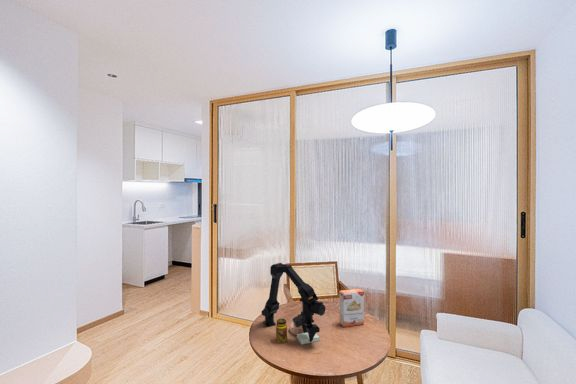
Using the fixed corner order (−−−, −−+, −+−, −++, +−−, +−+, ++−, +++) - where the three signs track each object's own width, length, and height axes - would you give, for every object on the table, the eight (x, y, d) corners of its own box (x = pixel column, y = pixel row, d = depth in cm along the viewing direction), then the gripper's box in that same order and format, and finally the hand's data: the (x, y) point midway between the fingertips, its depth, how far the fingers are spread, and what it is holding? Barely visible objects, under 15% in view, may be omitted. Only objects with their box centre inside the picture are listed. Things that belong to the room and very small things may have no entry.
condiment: (283, 346, 153) (283, 324, 153) (270, 342, 157) (270, 320, 157) (290, 340, 159) (290, 318, 159) (277, 336, 163) (277, 315, 163)
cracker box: (343, 328, 172) (343, 293, 172) (339, 323, 178) (339, 290, 178) (364, 324, 176) (364, 291, 176) (359, 320, 182) (359, 287, 182)
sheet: (296, 338, 160) (296, 334, 160) (313, 334, 163) (313, 331, 163) (301, 344, 153) (301, 340, 153) (319, 340, 156) (319, 337, 156)
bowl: (288, 330, 171) (288, 323, 171) (302, 327, 174) (302, 320, 174) (293, 337, 162) (293, 329, 162) (308, 334, 165) (308, 327, 165)
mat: (295, 339, 160) (295, 337, 160) (314, 335, 164) (314, 334, 164) (301, 346, 152) (301, 345, 152) (320, 342, 156) (320, 340, 156)
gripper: (288, 306, 164) (288, 333, 164) (300, 319, 147) (300, 350, 147) (306, 303, 168) (306, 329, 168) (319, 316, 150) (320, 345, 150)
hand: (307, 338), depth 158 cm, fingers closed on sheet, 7 cm apart
